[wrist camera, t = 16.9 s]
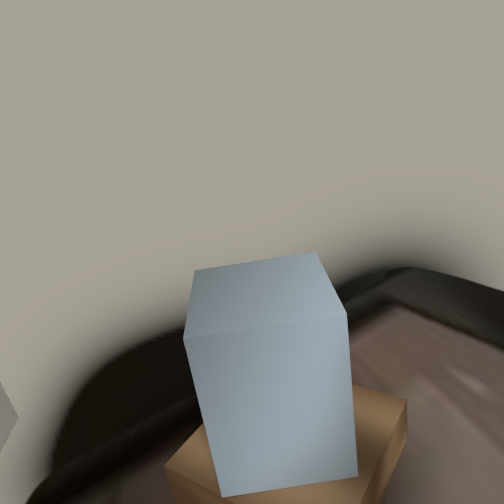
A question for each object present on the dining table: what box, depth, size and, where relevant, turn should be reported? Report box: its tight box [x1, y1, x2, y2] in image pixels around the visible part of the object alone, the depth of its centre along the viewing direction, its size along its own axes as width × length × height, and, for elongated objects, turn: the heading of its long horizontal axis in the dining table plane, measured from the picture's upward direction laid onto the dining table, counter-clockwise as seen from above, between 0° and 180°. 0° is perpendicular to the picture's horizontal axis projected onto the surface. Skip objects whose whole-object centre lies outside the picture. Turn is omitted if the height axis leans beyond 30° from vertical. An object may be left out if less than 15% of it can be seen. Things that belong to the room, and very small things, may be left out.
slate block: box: [183, 252, 358, 498], centre depth 27 cm, size 8×8×11 cm
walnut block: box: [164, 384, 408, 504], centre depth 30 cm, size 12×12×4 cm
